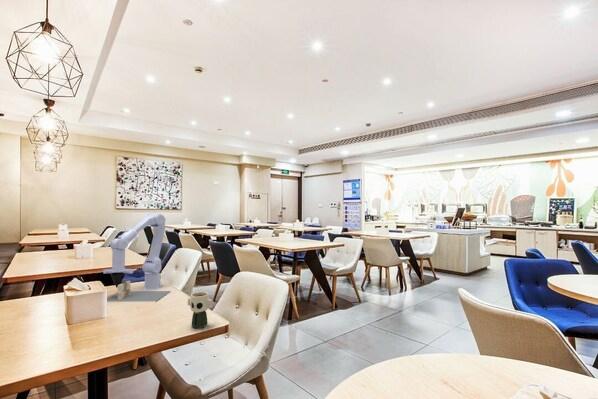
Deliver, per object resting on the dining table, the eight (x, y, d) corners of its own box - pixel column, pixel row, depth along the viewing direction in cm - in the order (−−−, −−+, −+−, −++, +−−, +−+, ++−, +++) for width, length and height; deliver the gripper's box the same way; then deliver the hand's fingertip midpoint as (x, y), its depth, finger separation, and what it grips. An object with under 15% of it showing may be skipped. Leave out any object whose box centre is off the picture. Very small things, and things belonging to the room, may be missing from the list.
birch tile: (126, 294, 161) (127, 280, 161) (130, 294, 161) (130, 280, 161) (117, 299, 152) (117, 285, 152) (120, 299, 152) (120, 285, 152)
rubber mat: (120, 292, 168) (120, 291, 168) (170, 291, 168) (170, 291, 168) (100, 302, 150) (100, 301, 150) (156, 302, 150) (156, 301, 150)
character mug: (182, 328, 119) (182, 295, 119) (192, 321, 126) (192, 290, 126) (207, 330, 116) (207, 297, 117) (215, 323, 123) (216, 292, 124)
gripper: (99, 262, 153) (99, 289, 153) (128, 262, 153) (127, 289, 153) (108, 260, 160) (107, 285, 160) (135, 260, 160) (135, 285, 160)
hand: (118, 286), depth 157 cm, fingers closed
